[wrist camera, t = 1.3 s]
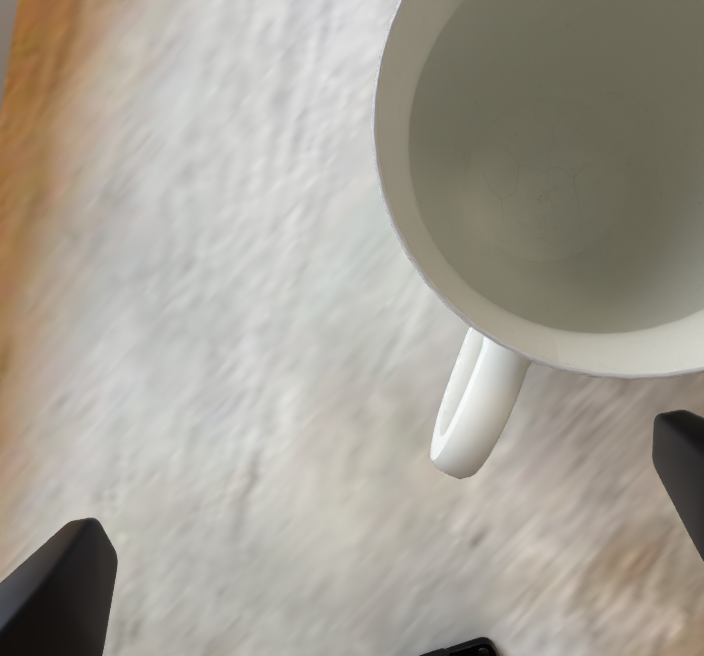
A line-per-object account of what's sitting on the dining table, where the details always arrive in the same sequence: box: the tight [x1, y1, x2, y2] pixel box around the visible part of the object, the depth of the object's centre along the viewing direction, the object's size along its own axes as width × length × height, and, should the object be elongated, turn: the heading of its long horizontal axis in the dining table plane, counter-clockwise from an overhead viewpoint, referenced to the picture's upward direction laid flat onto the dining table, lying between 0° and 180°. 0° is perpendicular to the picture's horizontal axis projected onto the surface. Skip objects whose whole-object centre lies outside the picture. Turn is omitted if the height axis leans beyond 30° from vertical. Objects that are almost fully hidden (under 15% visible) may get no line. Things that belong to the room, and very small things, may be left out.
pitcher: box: [372, 0, 704, 479], centre depth 17 cm, size 11×18×14 cm, turn 159°
